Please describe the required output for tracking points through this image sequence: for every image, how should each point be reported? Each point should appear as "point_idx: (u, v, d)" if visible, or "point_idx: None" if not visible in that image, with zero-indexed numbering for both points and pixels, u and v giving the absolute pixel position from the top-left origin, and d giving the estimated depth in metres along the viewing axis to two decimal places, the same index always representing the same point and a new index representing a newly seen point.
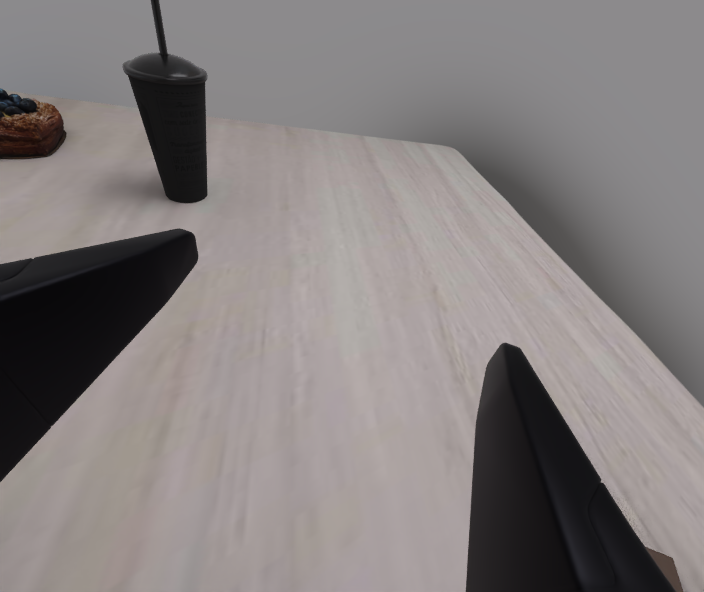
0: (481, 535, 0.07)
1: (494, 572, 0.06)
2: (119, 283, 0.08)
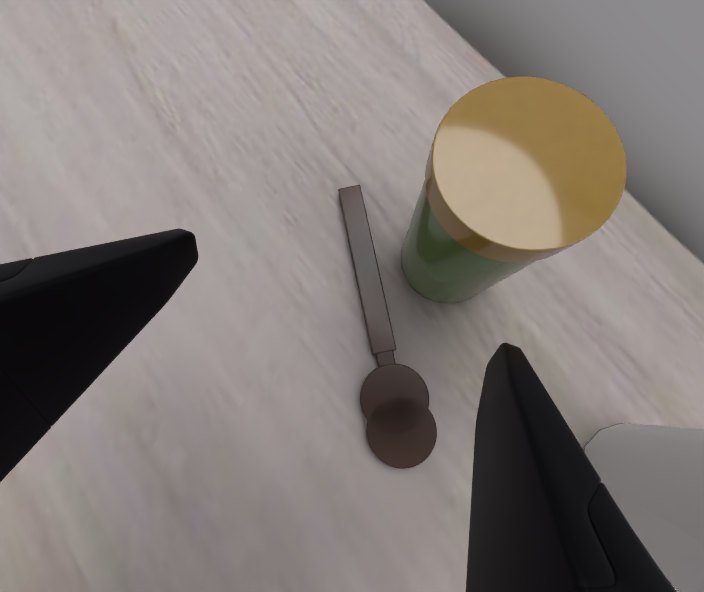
0: (481, 535, 0.07)
1: (494, 572, 0.06)
2: (119, 283, 0.08)
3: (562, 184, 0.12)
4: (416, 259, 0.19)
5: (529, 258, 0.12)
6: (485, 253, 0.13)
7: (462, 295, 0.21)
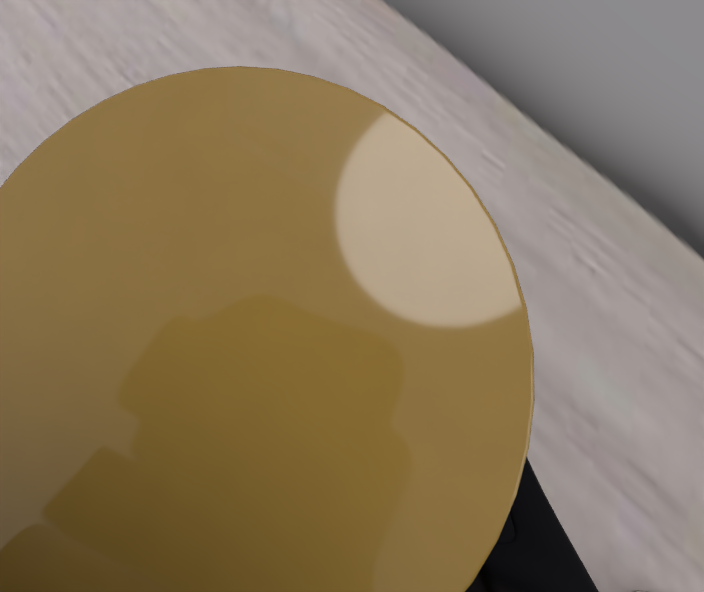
0: None
1: None
2: None
3: (307, 452, 0.03)
4: None
5: None
6: None
7: None
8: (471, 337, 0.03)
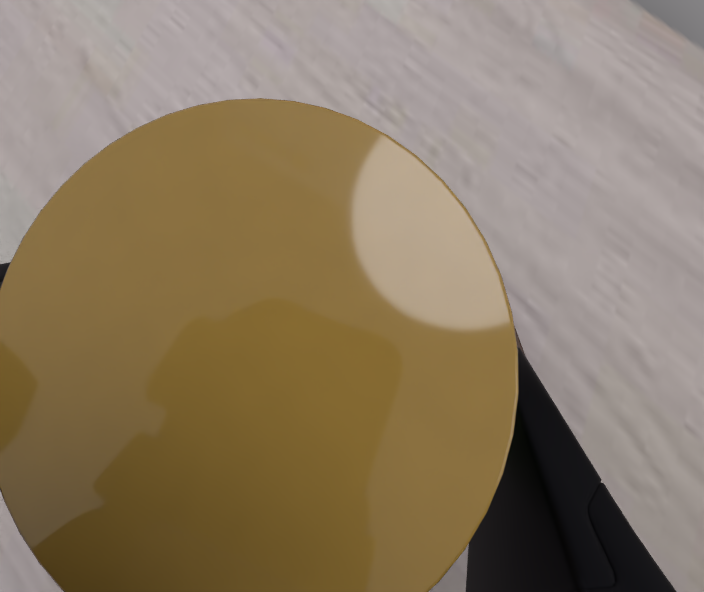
0: (480, 536, 0.07)
1: (494, 572, 0.06)
2: None
3: (321, 439, 0.04)
4: None
5: None
6: None
7: None
8: (463, 339, 0.04)
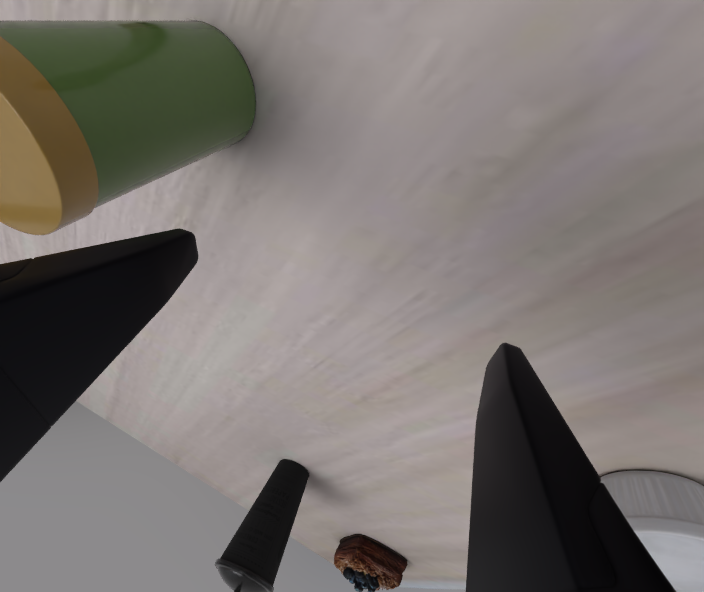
0: (481, 535, 0.07)
1: (494, 572, 0.06)
2: (119, 283, 0.08)
3: None
4: (194, 157, 0.18)
5: (49, 108, 0.11)
6: (83, 157, 0.12)
7: (214, 79, 0.17)
8: None
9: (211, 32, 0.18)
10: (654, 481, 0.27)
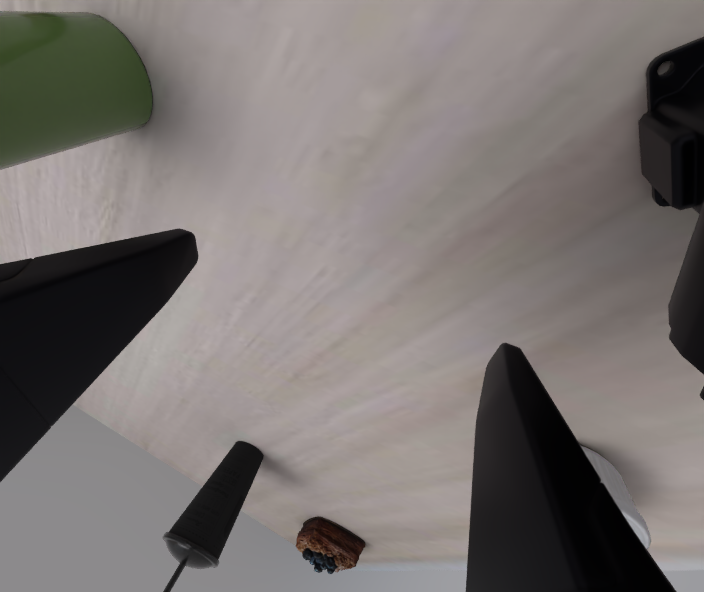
0: (480, 535, 0.07)
1: (494, 572, 0.06)
2: (119, 283, 0.08)
3: None
4: (83, 137, 0.20)
5: None
6: None
7: (95, 64, 0.19)
8: None
9: (98, 23, 0.20)
10: None
